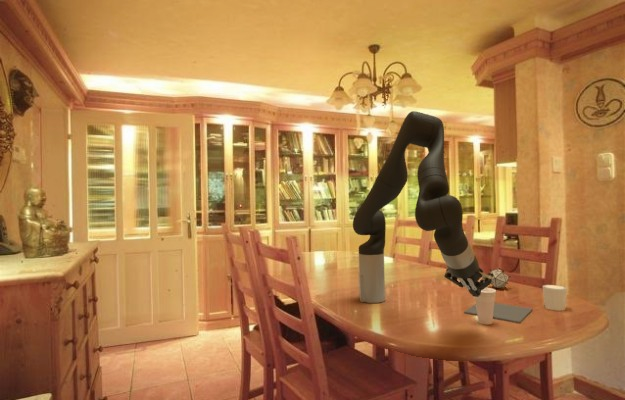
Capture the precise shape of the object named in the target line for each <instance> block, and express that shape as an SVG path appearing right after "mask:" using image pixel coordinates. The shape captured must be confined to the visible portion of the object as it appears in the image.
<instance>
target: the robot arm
mask: <svg viewBox="0 0 625 400" xmlns="http://www.w3.org/2000/svg"><path fill="white" fill-rule="evenodd" d="M444 128H445V127H444V123H443V121H442V120H441V119H440V118H439V117H437V116H433V115H430V114H428V113H424V112H419V111H416V110H415V111H413V110H412V111H410V112H409V113H408V114H407V115H406V116H405V118H404V120H403V122H402V123H401V126H400V128H399V130H398V133H397V136H396V138H395V140H394V141H393V142H394V143H393V146H392V147H391V149H390V151H389V153H388V156H387V158H386V160H385V161H384V163H383V165H382V167H381V169H380V171H379V173H378V175H377V176H376V179H375V180H374V183H373V185H372V186H371V188H370V190H369V192H368V194H367V195H366V197H365V199H364V200H363V202H362V203H361V205H360V206H359V208H358V209H357V211H356V212H355V214H354V217H353V219H352V229H353V231H354V233H355V234H357V235H359V236H369V238H368V240H367V241H365V242H364V243H362V244H360V245H359V246H358V292H359V293H358V295H359V296H358V297H359V302H361V303H368V304H369V303H370V304H377V303H383V302H384V301H386V287H385V286H386V281H385V246H386V228H387V226H386V225H387V224H386V223H387V222H386V217H385V214H384V212H383V211H382V210H381V209H383V208H384V207H386V206H387V205H389V204H390V203H391V202H393V201H394V200H395V199H396V198H397V197H398V196H399V195H400V194H401V193H402V190H403V189H404V188H405V185H406V183H407V182H408V179H409V175H408V174H409V173H408V167H407V163H406V155H405V154H406V150H407V148H408V146H409V145H410V144H411V145H414V146H417V147H421V148H426V149H427V150H428V153H427V154H426V156H425V157H424V158H423V159H422V160H421V161H420V163H419V165H418V168H417V172H416V173H417V175H416V176H417V177H416V178H417V183H418V196H417V200H416V204H415V210H414V217H415V218H414V219H415V222H416V224H417V225H418V227H419V228H420V229H421V230H423V231H425V232H431V231H434V232H433V238H434V240H435V243H436V245H437V247H438V249H439V251H440V256H441V257H442V259H443V261H444V263H445V265H446V267H447V268H446V270H445V273H444V278H446V279H447V280H449V281H450V282H452V283H453V284H455V285H457V286H458V287H459V288H463V287H464V288H465V289H466V290H467V291H468V293H469V294H470V295H472V297H474V296H475V297H479V296H480V294H481V290H483V289H485V288H486V287H487V288H488V286H489V285H492V284H491V282H492V278H493V274H491V273H490V272H488V274H487V273H486V272H484V271H483V269H482V268H481V267H480V264H479V261H478V259H477V257H476V253H475V252H474V250H473V248H472V247H473V246H472V245H471V243H470V242H469V240H468V238H467V236H466V234H465V231H464V228H463V219H464V218H463V215H464V214H463V207H462V203H461V201H460V200H459V199H458V198H457V197H456V196H453V195H450V194H449V192H450V186H449V181H448V176H447V172H446V167H445V129H444ZM480 279H481V280H480ZM479 280H480V281H479ZM475 297H474V298H475Z"/></svg>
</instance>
